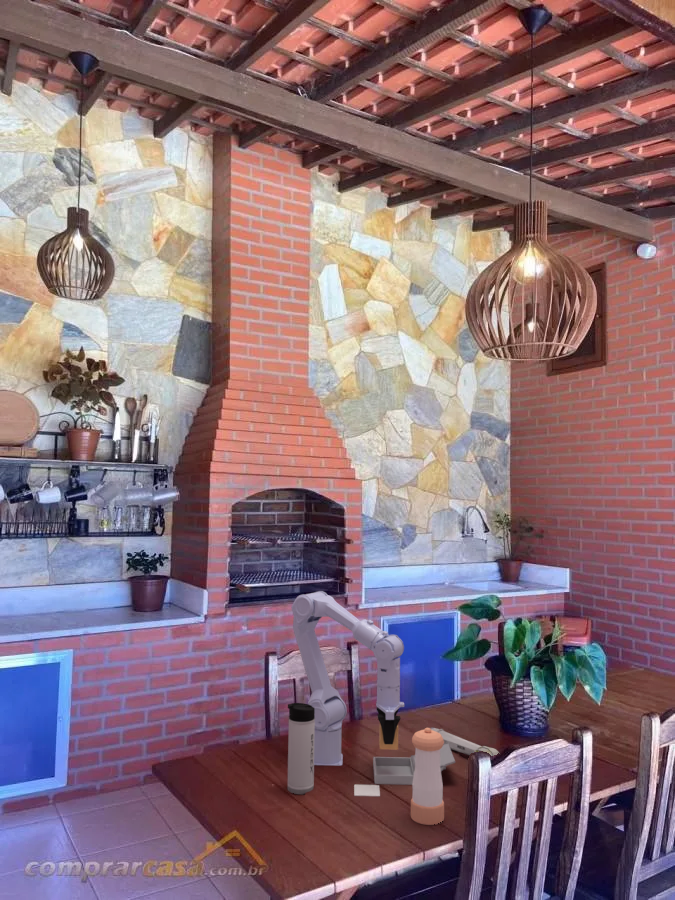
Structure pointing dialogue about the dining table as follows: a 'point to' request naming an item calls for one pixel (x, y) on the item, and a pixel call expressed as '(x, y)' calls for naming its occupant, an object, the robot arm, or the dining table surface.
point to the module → (388, 746)
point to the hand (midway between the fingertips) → (387, 740)
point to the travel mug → (301, 748)
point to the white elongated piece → (463, 744)
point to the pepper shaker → (427, 778)
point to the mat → (366, 790)
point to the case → (404, 767)
